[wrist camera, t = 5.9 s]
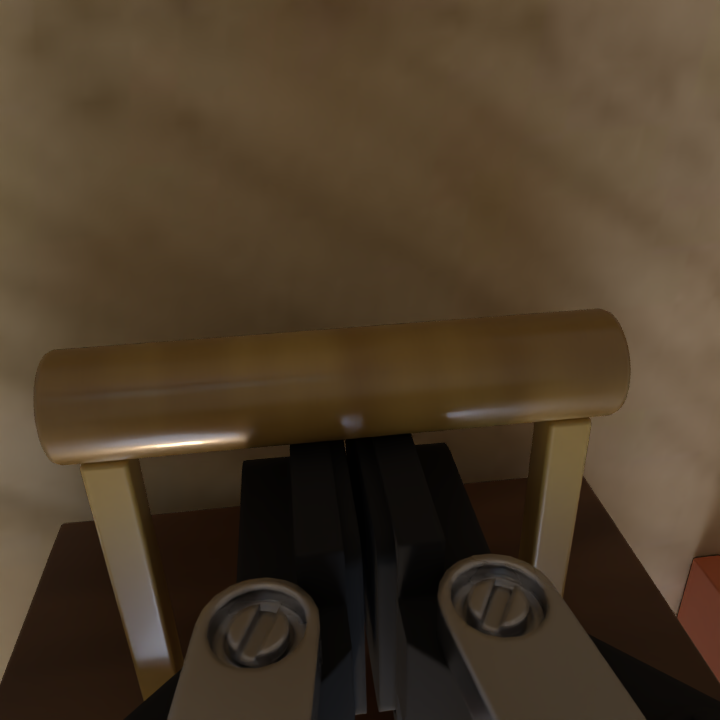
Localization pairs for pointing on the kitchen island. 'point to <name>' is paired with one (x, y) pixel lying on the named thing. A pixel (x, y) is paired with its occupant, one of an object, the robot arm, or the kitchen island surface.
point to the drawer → (306, 425)
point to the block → (703, 609)
